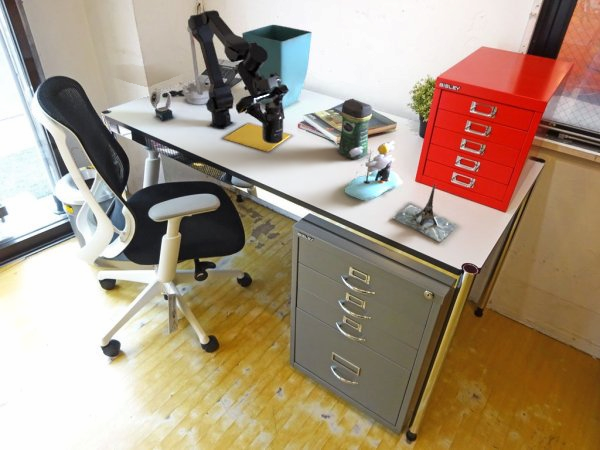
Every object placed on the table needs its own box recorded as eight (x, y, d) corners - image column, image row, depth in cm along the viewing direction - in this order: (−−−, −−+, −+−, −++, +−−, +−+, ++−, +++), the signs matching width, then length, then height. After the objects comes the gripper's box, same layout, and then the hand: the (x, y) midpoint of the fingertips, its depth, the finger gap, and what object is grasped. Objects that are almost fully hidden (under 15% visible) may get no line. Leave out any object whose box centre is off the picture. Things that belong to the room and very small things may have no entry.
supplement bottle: (281, 145, 142) (281, 110, 135) (260, 143, 143) (259, 108, 136) (284, 135, 148) (284, 101, 140) (264, 133, 148) (263, 99, 141)
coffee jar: (370, 154, 152) (377, 103, 141) (355, 162, 148) (360, 109, 136) (350, 145, 157) (354, 94, 146) (334, 151, 153) (338, 100, 142)
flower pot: (274, 90, 199) (273, 23, 182) (310, 100, 190) (312, 31, 173) (245, 103, 186) (240, 32, 169) (282, 115, 177) (281, 41, 160)
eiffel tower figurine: (390, 219, 122) (398, 178, 114) (410, 204, 128) (418, 164, 120) (439, 243, 114) (451, 200, 106) (457, 226, 120) (469, 184, 112)
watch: (151, 118, 173) (146, 90, 166) (170, 112, 178) (165, 85, 171) (158, 122, 170) (153, 94, 163) (177, 117, 174) (172, 89, 168)
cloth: (224, 138, 160) (224, 137, 160) (248, 124, 170) (248, 123, 170) (267, 152, 152) (267, 151, 152) (290, 135, 163) (290, 134, 162)
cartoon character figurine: (384, 171, 143) (390, 128, 134) (408, 185, 136) (417, 141, 127) (337, 190, 134) (340, 145, 124) (360, 206, 127) (366, 160, 118)
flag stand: (182, 95, 193) (171, 21, 174) (212, 92, 196) (204, 20, 178) (185, 106, 183) (174, 29, 165) (217, 103, 186) (209, 28, 168)
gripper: (239, 72, 128) (265, 119, 129) (285, 58, 139) (309, 102, 139) (224, 90, 137) (249, 134, 138) (268, 77, 148) (291, 118, 149)
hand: (275, 122), depth 141 cm, fingers closed on supplement bottle, 7 cm apart
